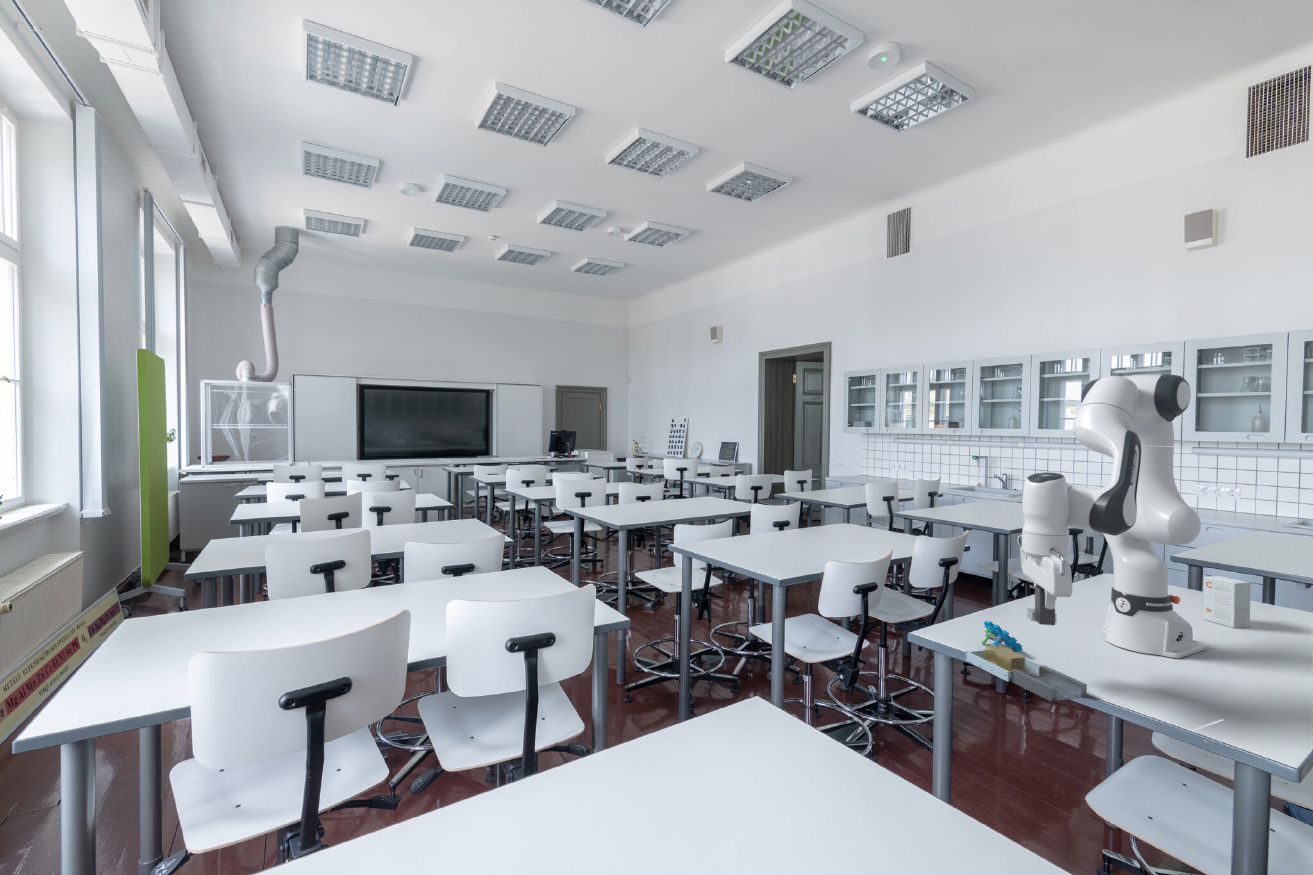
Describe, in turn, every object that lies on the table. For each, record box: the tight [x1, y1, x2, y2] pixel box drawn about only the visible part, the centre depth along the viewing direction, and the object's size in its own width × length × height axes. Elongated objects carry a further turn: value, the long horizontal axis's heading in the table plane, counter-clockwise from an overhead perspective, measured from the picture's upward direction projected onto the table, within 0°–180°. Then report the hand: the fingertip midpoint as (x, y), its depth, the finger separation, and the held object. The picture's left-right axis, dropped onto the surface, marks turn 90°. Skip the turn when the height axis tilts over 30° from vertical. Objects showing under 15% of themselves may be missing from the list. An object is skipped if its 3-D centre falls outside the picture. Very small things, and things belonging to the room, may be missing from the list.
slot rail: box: [1010, 665, 1088, 703], centre depth 127 cm, size 10×10×3 cm
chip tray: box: [964, 648, 1044, 683], centre depth 138 cm, size 11×12×2 cm
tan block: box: [984, 643, 1014, 665], centre depth 140 cm, size 4×4×4 cm
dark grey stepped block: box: [1026, 586, 1058, 626], centre depth 134 cm, size 5×5×8 cm
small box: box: [1202, 575, 1251, 629], centre depth 172 cm, size 8×6×13 cm
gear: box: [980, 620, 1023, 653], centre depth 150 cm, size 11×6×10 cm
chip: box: [997, 651, 1026, 677], centre depth 136 cm, size 4×4×4 cm
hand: (1045, 605), depth 133 cm, fingers closed on dark grey stepped block, 3 cm apart
